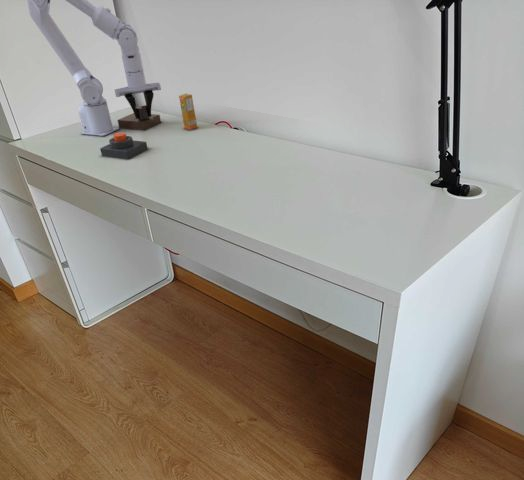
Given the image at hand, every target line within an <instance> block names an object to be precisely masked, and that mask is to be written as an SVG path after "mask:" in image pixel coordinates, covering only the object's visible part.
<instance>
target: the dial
mask: <svg viewBox="0 0 524 480" xmlns="http://www.w3.org/2000/svg"><path fill="white" fill-rule="evenodd" d="M136 109H137V113H138V117H139V120H146V119H149V114H148V109H147V105H146V104H145V105H139V106H136Z"/></svg>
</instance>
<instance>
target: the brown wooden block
mask: <svg viewBox="0 0 524 480" xmlns="http://www.w3.org/2000/svg"><path fill="white" fill-rule="evenodd" d="M117 123H118V128H119V129H128V130H129V129H130V130H139V131H146V130H148V129H150V128H153V127H155V126H156V125H159V124H160V123H162V120H161V115H160V114H158V113H157V114H155V113H151V117H149V119H146V120H139V119H136V117H135V114H134V112H133V113H130V114H128V115H126V116H123V117H121V118H119V119H117Z"/></svg>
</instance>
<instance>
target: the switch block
mask: <svg viewBox="0 0 524 480" xmlns="http://www.w3.org/2000/svg"><path fill="white" fill-rule="evenodd" d="M126 137H127V140H124V141H118V142H117V141H114V137H112V138H110V139H109V140H108V144H106V145H104V146H102V147H100V148H99V150H100V153H101V156H102V157H106V158H107V157H108V158H113V159H114V158H116V159H122V160H123V159H124V160H130V159H132V158H134V157H136V156H137V155H140V154H141V153H143V152H146V151H147V150H149V149H148V144H147V141H143V140H133V137H132V136H131V135H126Z"/></svg>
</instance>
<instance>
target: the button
mask: <svg viewBox="0 0 524 480" xmlns="http://www.w3.org/2000/svg"><path fill="white" fill-rule="evenodd" d="M126 136H127V133H126V132H116V133H114V134H112V138H114V141H117V142H118V141H124V140H127V137H126Z"/></svg>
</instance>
